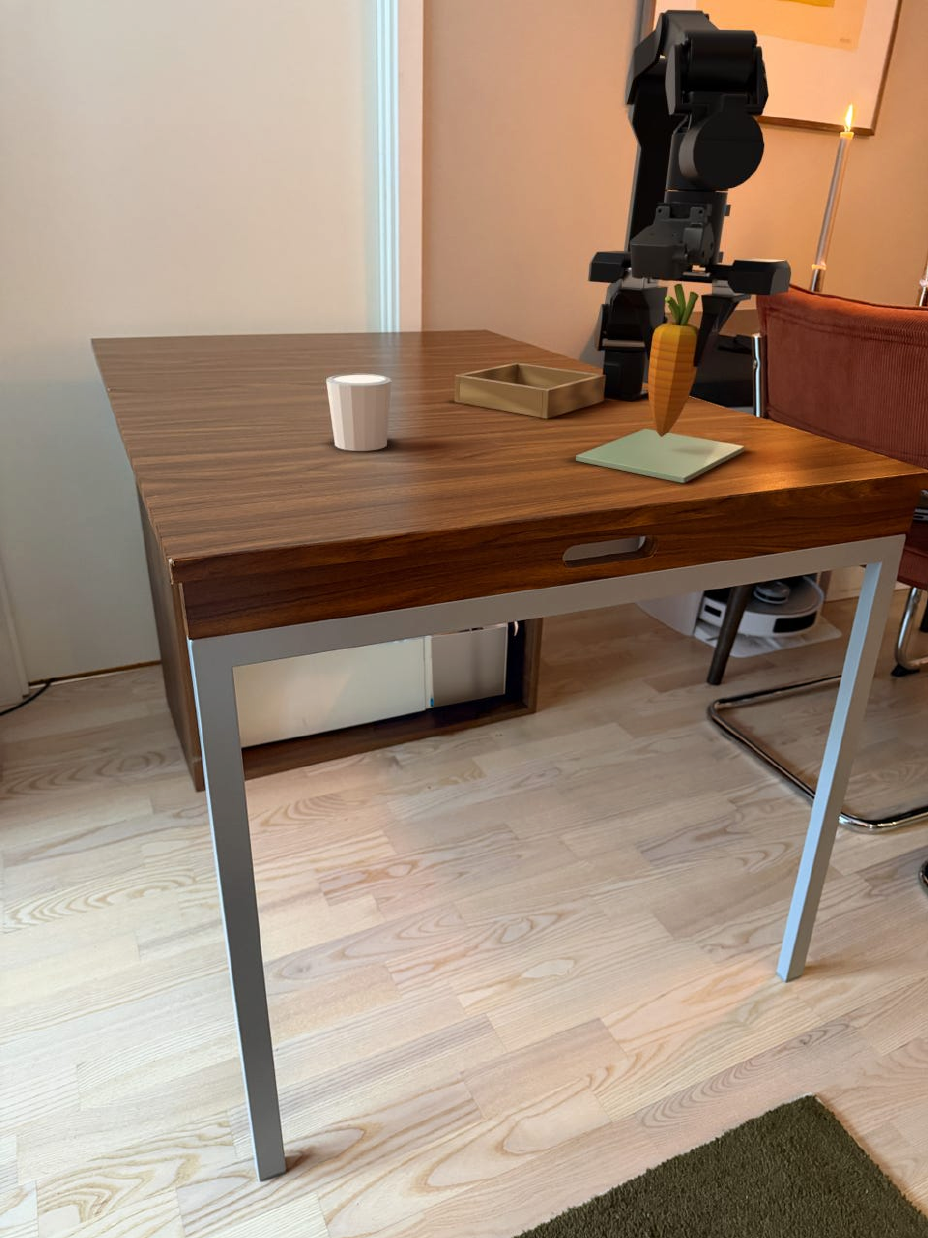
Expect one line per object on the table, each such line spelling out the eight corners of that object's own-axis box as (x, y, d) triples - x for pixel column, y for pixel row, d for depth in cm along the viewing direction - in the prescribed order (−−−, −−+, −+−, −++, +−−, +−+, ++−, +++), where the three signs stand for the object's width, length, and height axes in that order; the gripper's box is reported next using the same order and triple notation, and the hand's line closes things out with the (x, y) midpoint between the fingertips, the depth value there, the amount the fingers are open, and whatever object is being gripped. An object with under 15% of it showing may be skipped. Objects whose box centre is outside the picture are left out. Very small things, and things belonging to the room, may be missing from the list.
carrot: (686, 444, 86) (714, 289, 79) (637, 439, 87) (661, 285, 80) (684, 432, 90) (711, 284, 83) (638, 427, 91) (660, 280, 84)
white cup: (354, 433, 95) (352, 370, 92) (405, 442, 92) (404, 377, 89) (315, 446, 89) (312, 379, 86) (367, 455, 86) (366, 386, 83)
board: (644, 433, 98) (645, 428, 98) (743, 451, 92) (744, 446, 91) (575, 460, 87) (576, 455, 86) (683, 483, 80) (684, 477, 80)
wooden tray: (515, 387, 122) (516, 362, 121) (603, 401, 115) (606, 375, 113) (454, 401, 112) (454, 375, 110) (546, 418, 104) (548, 390, 102)
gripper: (566, 187, 77) (554, 361, 84) (765, 190, 67) (733, 387, 74) (622, 191, 85) (607, 349, 92) (807, 193, 75) (775, 371, 82)
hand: (673, 363), depth 85 cm, fingers closed on carrot, 5 cm apart
